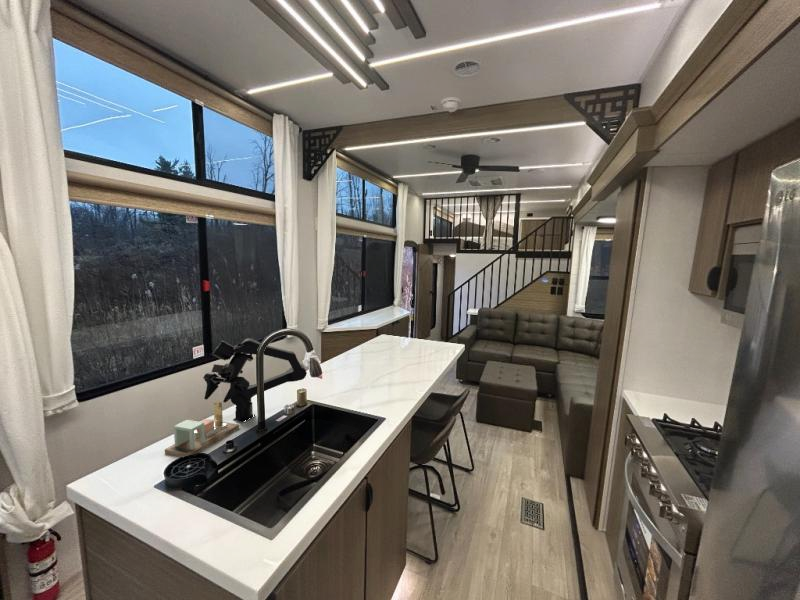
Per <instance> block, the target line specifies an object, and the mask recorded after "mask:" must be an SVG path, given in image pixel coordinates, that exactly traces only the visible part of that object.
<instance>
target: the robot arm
mask: <svg viewBox="0 0 800 600" xmlns="http://www.w3.org/2000/svg"><path fill="white" fill-rule="evenodd" d="M261 343H262V342H260V341H259V340H256V339H254V338H251V337H250V338H249V337H248V338H245V339H244V340H243V341H242V342H241V343H238V344H234V345H232V344H230V343H228V342H226V341H225V340H222V341H221V342H220V343H219V344H218V346H216V348H215V349H214V351H213V352H212V354H211V355H212V356H214V357H216V358H218V359H221V360H223V361H229V360H230V359H231V360H230V361H229V363H225V364H224V365H223V364H213V365H212V366H213V367H212V369H211V372H207V373H205V374H204V375H203V377H202V378H203V380H204V382H206V389H205V394H204V398H203V399H204V400H209V398H210V397H211V396H212V395H213V394H214V392H216V390H217V389H218V388H219V387H220V386H219V385H220V384H221V383H224V384H229V385H230V386H229V390H228V391H227V393H226V395H225V396H224V398H223V402H222V403H227V402H228V401H231V403H232V404H233V405H235V412H234V413H235V418H232V421H234V420H237V421H236V422H240V421H245V420H246V421H247V420H248V419H249V418H251V419H253V418H254V417H253V414H254V413H253V412H254V411H253V402H252V398H253V397H254V396H255V395H258V394H257V383H258V382H257V383H254V384H251V385H250V381H249V380H248V379H246V377H243V376H239V375H240V374H241V375H242V374H243V372H244V371H243V368H244V366H245V365H246V363H247V361H248V362H252V361H253V360H254V357H253V355H258V354H257V349H258V347H259V345H260V344H261ZM264 356H268V357H272V358H275V359H280V360H284V361H288V362H289V364H290V366H291V367H290V368H289V369H287V370H286V371H285V372H283V373H280V374H278V375H275V376H273V377H272V376H271V377H269V378H267V379H265V380H263V381H264V391H263V392H265V391H269V390H271V389H273V388H276V387H279V386H280V385H283V384H285V383H292V382H298V381H302V380H304V379H305V378H306V377H307V375H308V373H307V370H306V368H305V367H304V365H303V364H301V363H300V362H299V360H298V357H297V355H296V353H295V352H294V351H290V350H285V349H282V348H278V347H274V346H270V345H267V347H266V349H265V351H264ZM255 415H256V414H254V416H255ZM252 417H253V418H252ZM255 417H256V416H255ZM248 421H249V420H248ZM248 421H247V422H248Z"/></svg>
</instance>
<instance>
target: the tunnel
mask: <svg viewBox="0 0 800 600" xmlns="http://www.w3.org/2000/svg"><path fill="white" fill-rule="evenodd" d="M198 428H200V443H201V444H203V443H205V432H204V423H203V422H201V421H198V420H197V421H196V420H193V419H192V420H191V419H186V420H183V421H181V422H179V423H177V424H175V425H174V426H173V433H174V434H173V435H174V444H175V446H176V447H177V446H179V445H181V444H183V443H185V442H186V441H188V440H190V449H191V450H193V449H195V437H194V431H196V430H197V429H198Z"/></svg>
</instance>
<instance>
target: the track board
mask: <svg viewBox="0 0 800 600" xmlns="http://www.w3.org/2000/svg"><path fill="white" fill-rule="evenodd" d="M214 423H215V422H214ZM223 423H225V424H228V426H227V427H225V428H223V429H222V430H220V431H218V432H216V433H215V434H213V435H211V436H210V437H208V438H206V439H205V443H203V444H201V443H200V438H197V437H195V449H193V450H191V449H190V440H188V441H186V442H185V443H183V444H181V445H179V446H177V447H176V446H175V443H174V444H172V445H170V446H168V447H167V448H165V449H164V454H166V455H169V456H171V455H172V456H175V457H180V458H184V457H183V456H188V455H191V454H196V453H198V454H199V453H201V452H202V451H204V450H206V449H207V448H209V447H211V446H212V445H214V444H216V443H217V442H219V441H220V440H223V439H224V438H225V437H227V436H229V435H230V434H232V433H234V432H235V431H237V430H238V429H240V424H239V423H238V424H237V423H232V422H225V421H223ZM237 428H238V429H237ZM236 429H237V430H236ZM234 430H235V431H234ZM231 432H232V433H231ZM228 434H229V435H228ZM196 455H197V454H196Z"/></svg>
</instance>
